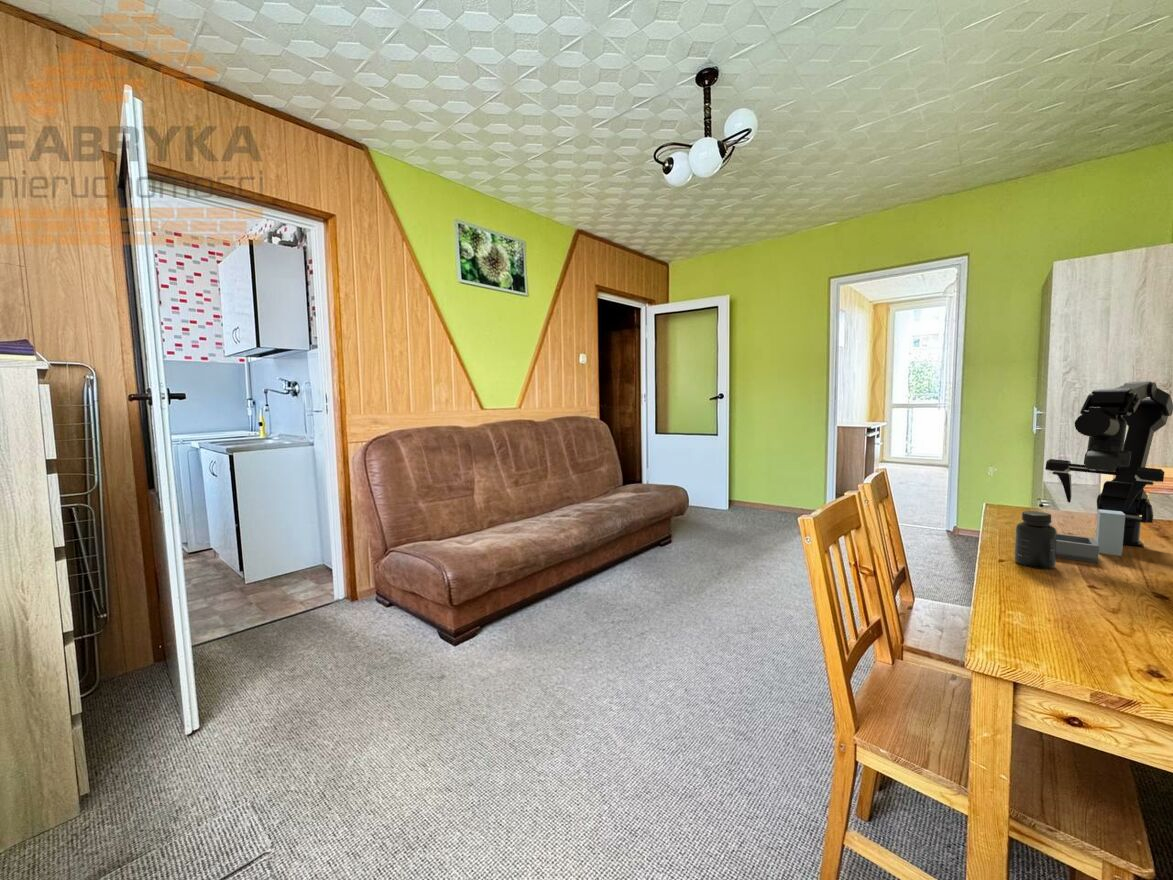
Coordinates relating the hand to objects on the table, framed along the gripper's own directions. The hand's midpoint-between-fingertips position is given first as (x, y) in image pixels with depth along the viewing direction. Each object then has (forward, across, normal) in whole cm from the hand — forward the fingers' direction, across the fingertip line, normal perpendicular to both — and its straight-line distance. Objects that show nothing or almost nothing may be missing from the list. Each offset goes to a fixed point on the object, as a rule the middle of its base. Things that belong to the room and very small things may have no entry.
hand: (1096, 506), depth 112 cm
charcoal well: (+12, -3, -1) cm, 13 cm away
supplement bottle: (+15, -8, -15) cm, 23 cm away
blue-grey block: (+11, +3, +8) cm, 13 cm away
